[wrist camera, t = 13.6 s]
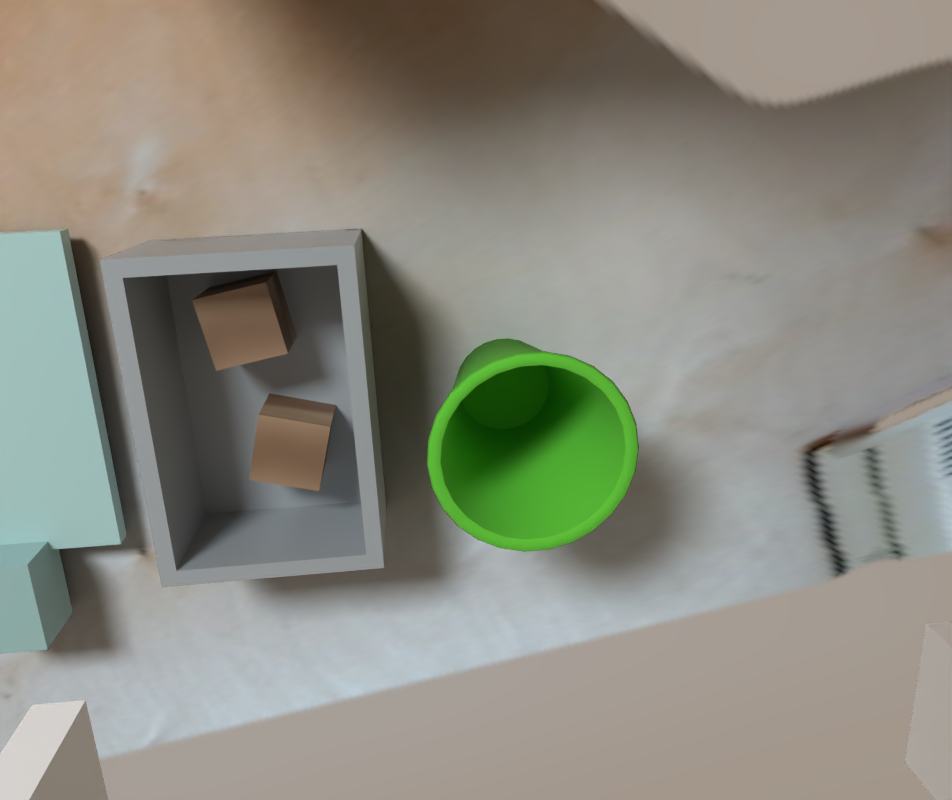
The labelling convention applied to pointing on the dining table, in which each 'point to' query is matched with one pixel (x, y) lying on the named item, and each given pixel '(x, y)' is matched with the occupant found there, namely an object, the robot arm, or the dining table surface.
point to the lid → (47, 438)
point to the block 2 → (292, 442)
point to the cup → (531, 447)
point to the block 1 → (245, 320)
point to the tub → (249, 408)
